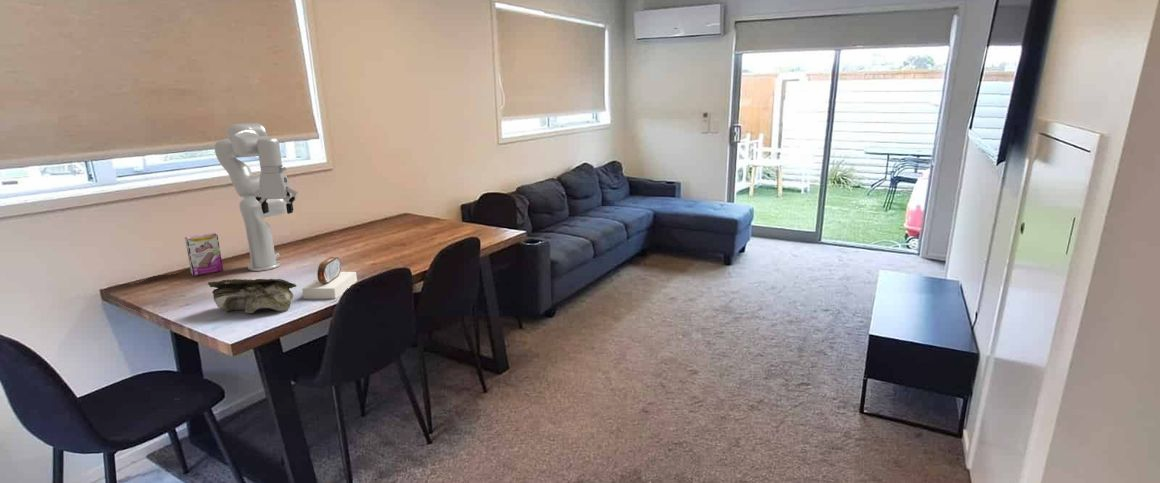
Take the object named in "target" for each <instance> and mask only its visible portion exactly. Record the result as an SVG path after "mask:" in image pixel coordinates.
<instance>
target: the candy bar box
mask: <svg viewBox="0 0 1160 483" xmlns="http://www.w3.org/2000/svg"><path fill="white" fill-rule="evenodd" d="M184 240H185V245H186V246H185V247H186V252H187V257H188V263H189V268H190V273H191V275H192V276H193V277H196V276H197V277H198V276H202V275H208V274H213V273H220V272H223V271H224V267H223V261H222V255H221V247H220V242H219V237H218V234H217V233H215V232H214V233H213V232H212V233H205V234H197V235H189V236H185V237H184Z"/></svg>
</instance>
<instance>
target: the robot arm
mask: <svg viewBox="0 0 1160 483" xmlns="http://www.w3.org/2000/svg"><path fill="white" fill-rule="evenodd" d="M226 137H227V138H224V139H220V140H218V141H216V142H215V143H214V153H215V156H216V159H217V160H218V162H219V164H220V165H221V167H223V169H224V170H225V171H226V172H227V174H228V176H229V178H230V180H231V182H232V184H233V187H234V189H235V192H236V193H237V195H238V196H239V197H240V198H243V199H241V200H240V202H239V205H238V208H239V211H240V214H241V216H242V220H243V222H244V228H245V233H246V239H247V246H248V251H249V257H250V264H248V265H247V269H248V270H249V271H253V272H260V271H261V272H262V271H268V270H274V269H276V268H279V267H280V266H281V261H279V260H277V258H279V257H280V256H281V255H280V253H279V252H275V246H274V239H273V232H272V227H271V225H270V224H269V223H268V221H265V220H264V218H269V217H275V216H281V215H284V214H285V213H287V214H288V215H289V214H293V213H294V205H293V203H294V202H295V201H296V199H297V196H298V193H299V192H298V191H296V190H295V189H292V188H291V185H290V183H289V179H288V177H287V173H286V172H284V171H286V170H287V168H286V167H284V166H283V162H282V156H281V148H280V141H279V140H278V139H277V138H275V137H273V136H269V135H268V133H267V130H266V128H265V127H264V125H262V124H261V123H257V122H252V123H250V122H249V123H247V122H246V123H234V124H231V125H230V126H229V127H227V129H226ZM251 157H258V161H259V167H260V174H253V172H252V170H251V168H250V167H249V165H247V164H246V163H245V162H243V161H242V160H240V159H238V158H251Z"/></svg>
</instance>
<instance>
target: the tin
mask: <svg viewBox="0 0 1160 483" xmlns="http://www.w3.org/2000/svg"><path fill="white" fill-rule="evenodd" d="M341 267H342V266H341V259H340V258H339V257H337V256H329V257H327V258H326V259H324V260H323V261H321V262H320V263H319V265H318V268H317V274H316V275H317V278H318V281H319V282H320V283H329V282H331V281H332V280H334V279H335V278H336V277H338V276H339V274H340V272H341V269H342V268H341Z"/></svg>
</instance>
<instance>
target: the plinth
mask: <svg viewBox="0 0 1160 483" xmlns="http://www.w3.org/2000/svg"><path fill="white" fill-rule="evenodd" d="M357 282H358V277H357V272H356V271H340V274H339V276H338V277H336V278H335V279H334V280H332V281H331V282H329V283H320V282H319V281H318V277H317V278H315V279H314V280H312V281H311V282H309V283H307V285H305V286H303V287H302V296H303V299H304V300H306V299H308V300H309V299H316V300H318V299H319V300H320V299H328V300H329V299H333V300H334V299H336V300H337V298H338V297H340V296H341V295H342V294H344V292H346V291H347V290H348V289H350V288H351V287H352V286H353V285H354V284H356V283H357ZM352 284H353V285H352ZM351 285H352V286H351ZM350 286H351V287H350ZM347 288H348V289H347ZM346 289H347V290H346ZM345 290H346V291H345Z"/></svg>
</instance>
